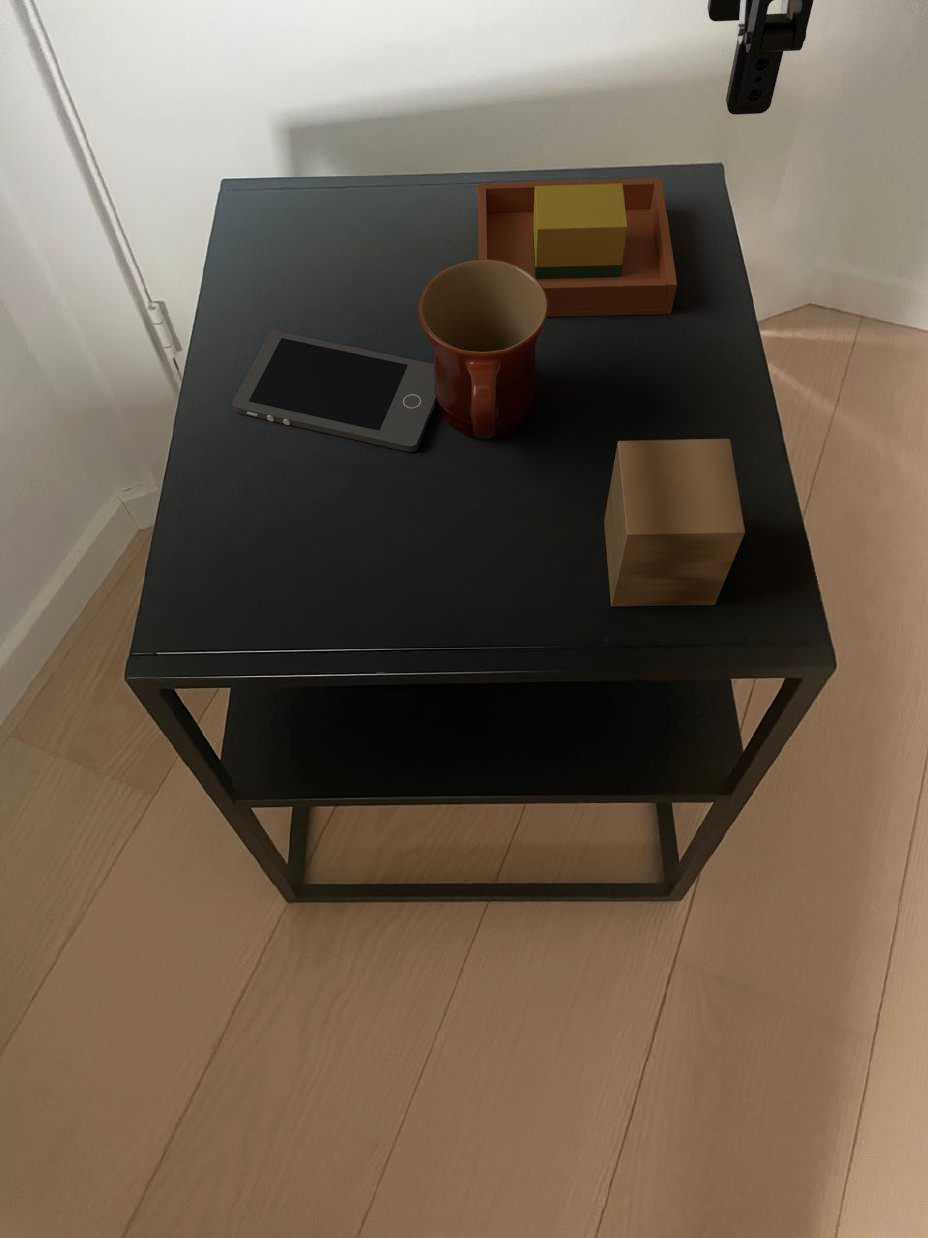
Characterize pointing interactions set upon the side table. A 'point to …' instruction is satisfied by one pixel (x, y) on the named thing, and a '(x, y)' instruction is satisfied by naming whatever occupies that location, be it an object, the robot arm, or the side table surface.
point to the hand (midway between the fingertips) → (735, 61)
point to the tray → (633, 293)
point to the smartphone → (339, 391)
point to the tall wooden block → (671, 522)
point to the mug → (484, 343)
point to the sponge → (579, 231)
